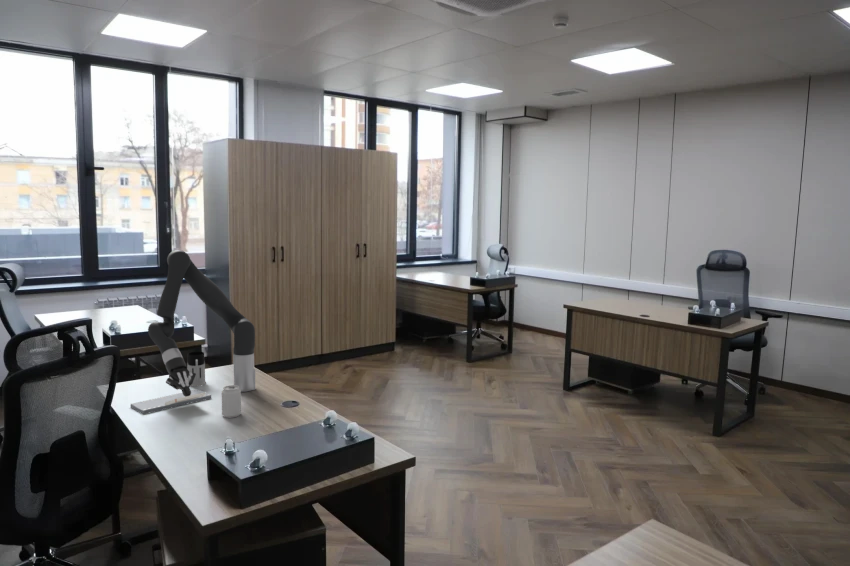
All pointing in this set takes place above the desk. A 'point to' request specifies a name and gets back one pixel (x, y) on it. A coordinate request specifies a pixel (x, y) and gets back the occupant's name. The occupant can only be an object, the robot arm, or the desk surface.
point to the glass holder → (196, 367)
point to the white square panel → (184, 398)
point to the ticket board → (160, 402)
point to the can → (231, 401)
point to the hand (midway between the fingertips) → (188, 395)
